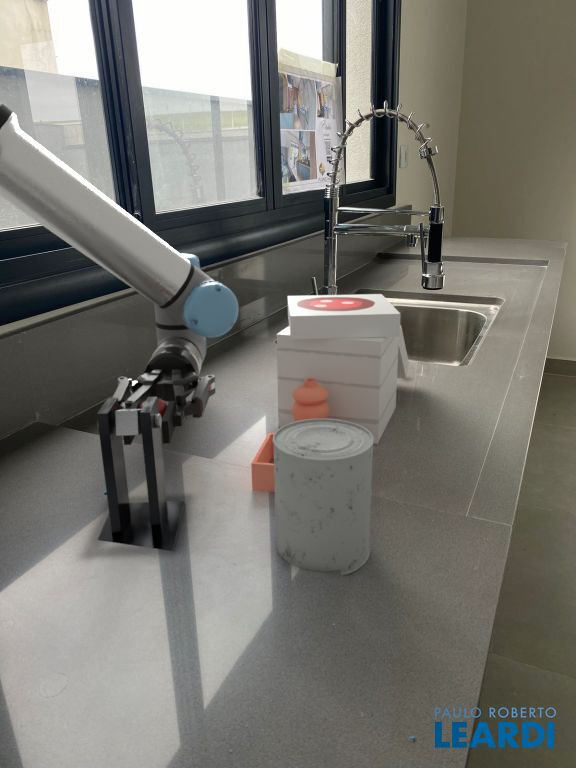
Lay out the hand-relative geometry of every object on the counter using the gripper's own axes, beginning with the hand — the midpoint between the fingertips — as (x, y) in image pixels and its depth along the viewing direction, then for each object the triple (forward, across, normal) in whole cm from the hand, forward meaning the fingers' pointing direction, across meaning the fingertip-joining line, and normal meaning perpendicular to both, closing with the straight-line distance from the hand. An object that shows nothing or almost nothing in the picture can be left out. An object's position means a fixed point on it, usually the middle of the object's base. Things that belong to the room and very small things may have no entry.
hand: (146, 433), depth 67 cm
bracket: (+7, 0, -9) cm, 11 cm away
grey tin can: (+10, -19, -9) cm, 23 cm away
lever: (+1, 0, 0) cm, 1 cm away
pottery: (-8, -18, -9) cm, 22 cm away
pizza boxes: (-29, -27, -9) cm, 40 cm away
